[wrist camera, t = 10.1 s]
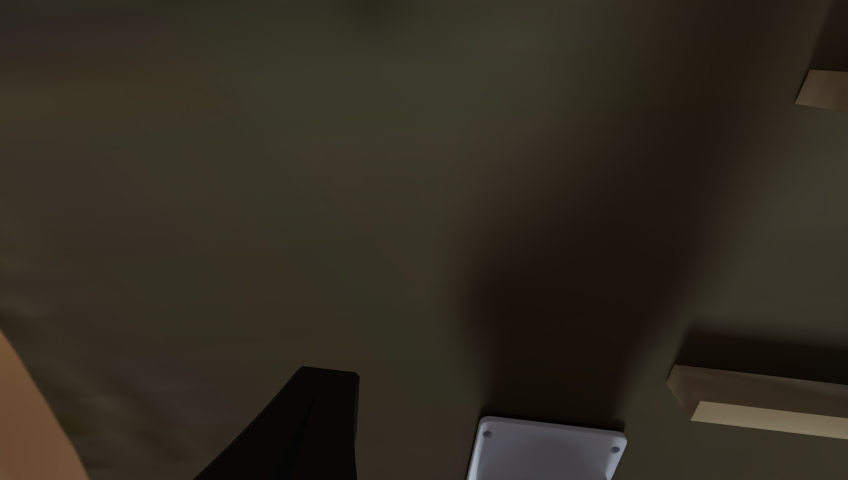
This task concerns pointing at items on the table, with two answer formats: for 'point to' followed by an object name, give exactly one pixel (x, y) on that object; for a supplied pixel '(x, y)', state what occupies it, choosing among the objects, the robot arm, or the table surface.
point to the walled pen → (760, 394)
